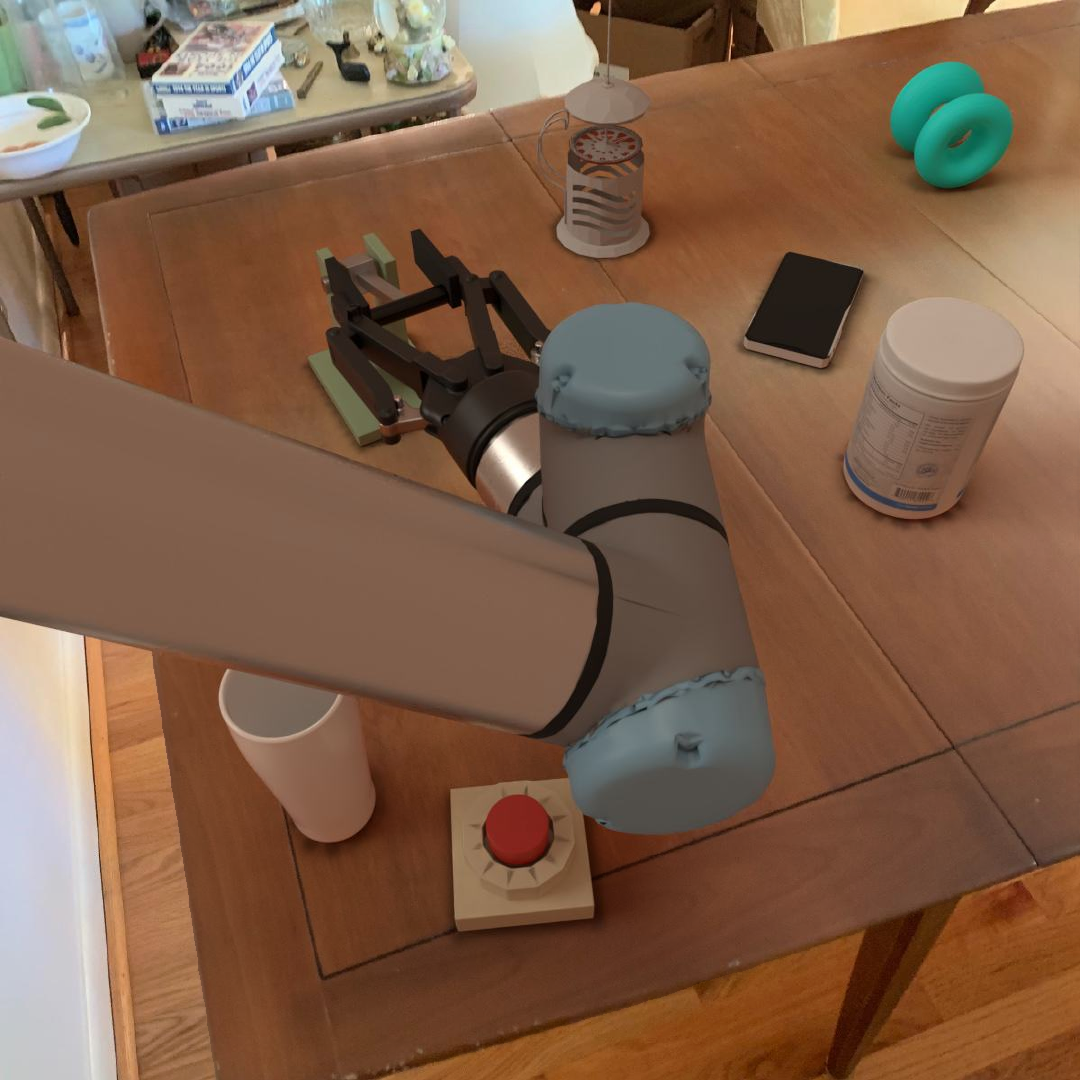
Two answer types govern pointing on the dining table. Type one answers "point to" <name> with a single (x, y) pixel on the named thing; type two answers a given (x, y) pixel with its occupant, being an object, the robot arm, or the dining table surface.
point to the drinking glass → (303, 751)
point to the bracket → (339, 389)
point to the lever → (390, 292)
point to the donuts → (951, 124)
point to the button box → (519, 890)
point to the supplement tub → (930, 405)
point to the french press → (602, 168)
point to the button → (517, 829)
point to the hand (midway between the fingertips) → (375, 259)
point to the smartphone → (804, 310)
